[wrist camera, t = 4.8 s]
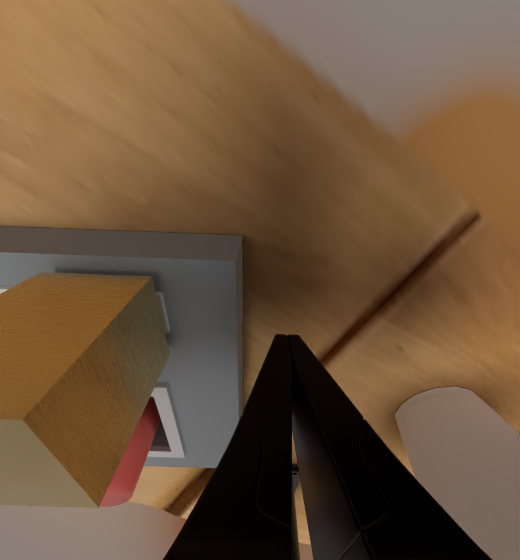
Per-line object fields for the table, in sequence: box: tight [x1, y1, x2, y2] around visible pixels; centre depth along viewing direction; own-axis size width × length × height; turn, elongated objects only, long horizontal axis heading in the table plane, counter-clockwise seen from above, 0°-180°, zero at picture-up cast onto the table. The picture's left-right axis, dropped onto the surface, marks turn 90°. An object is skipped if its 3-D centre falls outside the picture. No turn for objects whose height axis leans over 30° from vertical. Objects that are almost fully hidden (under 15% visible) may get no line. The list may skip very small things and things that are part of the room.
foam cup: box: [395, 386, 520, 560], centre depth 12 cm, size 10×9×13 cm
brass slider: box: [0, 272, 170, 508], centre depth 7 cm, size 4×4×5 cm
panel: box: [0, 226, 243, 468], centre depth 14 cm, size 17×22×3 cm
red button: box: [99, 397, 161, 507], centre depth 13 cm, size 5×5×6 cm
